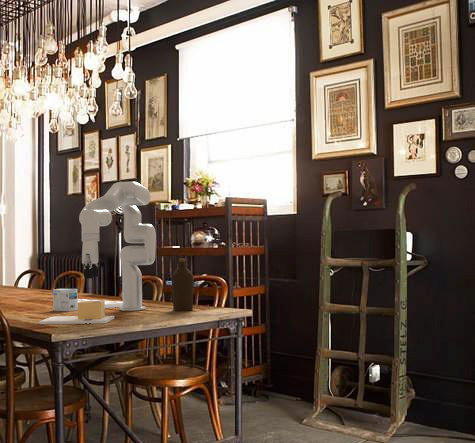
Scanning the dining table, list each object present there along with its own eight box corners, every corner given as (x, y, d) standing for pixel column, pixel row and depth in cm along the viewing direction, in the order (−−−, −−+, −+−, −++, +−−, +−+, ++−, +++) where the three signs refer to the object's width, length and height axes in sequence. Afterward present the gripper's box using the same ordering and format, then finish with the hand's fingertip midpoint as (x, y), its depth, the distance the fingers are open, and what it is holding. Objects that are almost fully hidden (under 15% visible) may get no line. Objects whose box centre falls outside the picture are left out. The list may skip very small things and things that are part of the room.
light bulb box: (78, 310, 321) (78, 288, 321) (69, 311, 315) (69, 289, 315) (61, 309, 326) (61, 288, 326) (52, 311, 319) (52, 289, 320)
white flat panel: (52, 319, 285) (52, 316, 285) (114, 318, 284) (114, 315, 284) (39, 324, 269) (39, 320, 269) (105, 323, 268) (105, 320, 268)
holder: (57, 304, 357) (57, 299, 357) (87, 301, 369) (87, 297, 369) (94, 310, 322) (94, 305, 322) (126, 307, 334) (126, 302, 334)
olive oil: (182, 311, 304) (182, 259, 305) (167, 310, 311) (166, 259, 312) (198, 309, 312) (197, 258, 313) (183, 308, 319) (182, 258, 320)
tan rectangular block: (82, 317, 280) (81, 300, 280) (104, 317, 279) (104, 300, 279) (78, 319, 274) (77, 302, 274) (101, 318, 273) (101, 302, 273)
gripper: (87, 237, 286) (88, 276, 286) (76, 238, 269) (77, 279, 269) (104, 237, 286) (105, 275, 286) (93, 238, 268) (94, 279, 268)
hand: (91, 277), depth 277 cm, fingers open, 9 cm apart
